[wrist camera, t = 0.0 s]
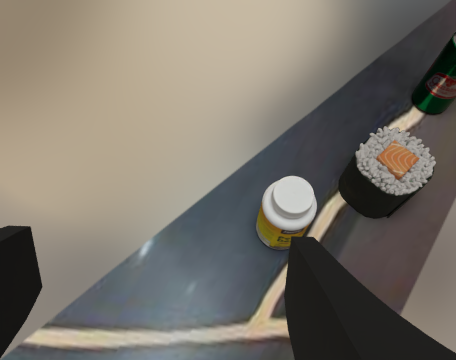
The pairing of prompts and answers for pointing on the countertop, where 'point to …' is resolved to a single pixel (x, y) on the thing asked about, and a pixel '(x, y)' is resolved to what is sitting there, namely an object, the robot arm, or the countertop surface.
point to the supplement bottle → (285, 211)
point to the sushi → (386, 173)
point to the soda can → (438, 82)
